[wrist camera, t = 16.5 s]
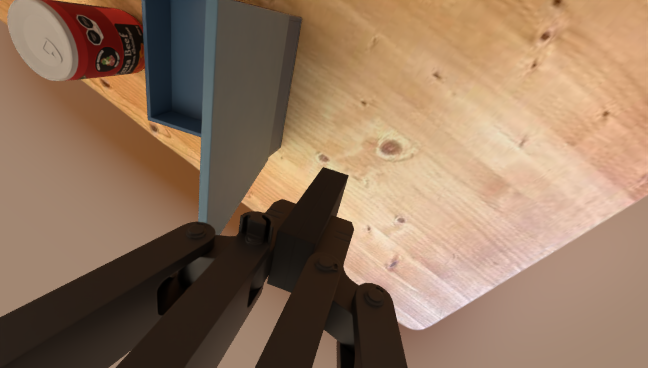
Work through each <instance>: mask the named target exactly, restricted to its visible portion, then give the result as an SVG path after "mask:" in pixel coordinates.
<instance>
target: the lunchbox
mask: <svg viewBox="0 0 648 368" xmlns="http://www.w3.org/2000/svg"><path fill="white" fill-rule="evenodd" d="M141 1H142V20H143V39H144V58H145V77H146V96H147V115H148V120H149V121H153V122H156V123H159V124H162V125H165V126H168V127H171V128H174V129H177V130H180V131H183V132H186V133H189V134H193V135H196V136H199V137H201V130H202V101H203V72H204V43H205V13H206V0H141ZM233 1H235V0H233ZM237 2H239V1H237ZM241 3H243V2H241ZM245 4H247V3H245ZM249 5H251V4H249ZM253 6H255V5H253ZM257 7H259V6H257ZM261 8H262V7H261ZM265 9H266V8H265ZM285 14H286V13H285ZM289 15H290V14H289ZM301 22H302V18H301V17H297V16H294V15H290V16H289V23H288V30H287V36H286V43H285V50H284V56H283V63H282V70H281V76H280V83H279V90H278V96H277V103H276V110H275V116H274V123H273V130H272V136H271V143H270V150H269V156H271V155H272V154H273V153H274V152H276V151H277V150H278V149H279V148H280V147H281V141H282V135H283V129H284V123H285V117H286V111H287V105H288V99H289V93H290V88H291V82H292V76H293V70H294V64H295V58H296V52H297V46H298V40H299V34H300V28H301ZM269 156H268V157H269Z"/></svg>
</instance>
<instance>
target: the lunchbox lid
mask: <svg viewBox="0 0 648 368" xmlns="http://www.w3.org/2000/svg"><path fill="white" fill-rule="evenodd" d="M289 16H290V15H289V14H285V13H282V12H278V11H274V10H270V9H265V8H261V7H257V6H253V5H249V4H245V3H241V2H237V1H233V0H206V13H205V43H204V72H203V101H202V130H201V159H200V189H199V190H200V191H199V219H198V222H204V223H207V224H210V225H211V226H212V227H213V228H214V229H215V232H216V234H215V235H220V234H221V232H222V230H223V229H224V227H225V226H226V224H227V223H228V221H229V220H230V218H231V216H232V215H233V213H234V212H235V210H236V209H237V207H238V206H239V204H240V203H241V201H242V199H243V198H244V196H245V195H246V193H247V192H248V190H249V189H250V187H251V186H252V184H253V182H254V181H255V179H256V178H257V176H258V175H259V173H260V172H261V170H262V168H263V167H264V165H265V164H266V162H267V161H268V156H269V150H270V143H271V136H272V130H273V123H274V116H275V110H276V103H277V96H278V90H279V83H280V76H281V70H282V63H283V56H284V50H285V43H286V36H287V30H288V23H289Z"/></svg>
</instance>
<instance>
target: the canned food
mask: <svg viewBox="0 0 648 368" xmlns="http://www.w3.org/2000/svg"><path fill="white" fill-rule="evenodd" d="M7 18H8V28H9V32H10V35H11V39H12V41H13V43H14V45H15V48H16V49H17V51H18V53H19V54H20V56H21V57H22V58H23V60H24V61H25V62H26V63H27V65H28V66H29V67H30V68H31V69H32V70H34V71H35V72H36V73H37V74H39V75H40V76H42V77H44V78H46V79H48V80H53V81H67V80H78V79H88V78H97V77H106V76H115V75H124V74H133V73H137V72H139V71H141V70H143V69H144V68H145V58H144V39H143V27H142V25H141V24H140V23H139V22H138V21H137V20H136V19H135V18H134V17H133V16H131V15H130V14H128V13H126V12H124V11H122V10H119V9H115V8H108V7H100V6H92V5H85V4H77V3H69V2H62V1H54V0H15V1H14V2H13V3H12V4H11V5H10V8H9V10H8V16H7Z"/></svg>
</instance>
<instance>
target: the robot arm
mask: <svg viewBox="0 0 648 368" xmlns="http://www.w3.org/2000/svg"><path fill="white" fill-rule="evenodd" d="M348 176H349V175H346V174H343V173H340V172H337V171H334V170H330V169H327V168H324V167H323V168H322V169H321V171H320V172H319V173H318V175H317V176H316V178H315V179H314V180H313V182H312V183H311V185H310V186H309V187H308V189H307V190H306V191H305V193H304V194H303V196H302V197H301V198H300V200H299V201H298V202H297V204H295V203H292V202H289V201H287V200H284V199H281V200H279V201H276V202H274V203H273V204H272V205H271V207H270V208H269V209H268V210H267V211H266V212H265V213H262V212H247V213H244V214H243V215H241V217H240V225H239V233H238V234H237V236H221V235H215V234H216V232H215V229H214V228H213V227H212V226H211V225H210V224H207V223H204V222H191V223H187V224H185V225H182V226H180V227H179V228H177V229H175V230H172V231H171V232H168V233H167V234H165V235H163V236H161V237H159V238H157V239H155V240H153V241H151V242H149V243H147V244H145V245H143V246H141V247H139V248H137V249H135V250H133V251H131V252H129V253H127V254H125V255H123V256H121V257H119V258H117V259H115V260H113V261H111V262H109V263H107V264H105V265H103V266H101V267H99V268H97V269H95V270H93V271H91V272H89V273H87V274H85V275H83V276H81V277H79V278H77V279H75V280H73V281H71V282H69V283H67V284H65V285H64V286H61V287H59V288H57V289H56V290H53V291H51V292H49V293H48V294H45V295H44V296H42V297H40V298H38V299H36V300H34V301H32V302H30V303H28V304H26V305H24V306H22V307H20V308H18V309H16V310H14V311H12V312H10V313H8V314H6V315H4V316H2V317H0V368H109V367H110V366H111V365H113V364H114V363H115V362H117V361H118V360H119V359H120V358H122V357H123V356H124V355H126V354H127V353H128V352H129V351H131V352H130V353H129V354H128V355H127V356H126V357H125V358H124V359H123V360H122V361H121V362H120V364H119V365H118V366H117V367H116V368H217V366H218V364H219V363H220V361H221V360H222V358H223V356H224V355H225V353H226V351H227V349H228V348H229V346H230V345H231V343H232V341H233V340H234V338H235V336H236V335H237V333H238V331H239V330H240V328H241V326H242V325H243V323H244V321H245V319H246V318H247V316H248V315H249V313H250V311H251V310H252V308H253V306H254V305H255V303H256V301H257V300H258V298H259V296H260V295H261V292H262V289H263V285H264V282H265V280H266V279H267V277H268V281H267V283H268V284H270V285H273V286H275V287H278V288H281V289H283V290H286V291H288V292H291V295H290V297H289V299H288V301H287V303H286V305H285V307H284V309H283V311H282V313H281V315H280V317H279V319H278V321H277V323H276V326H275V328H274V330H273V332H272V334H271V336H270V338H269V340H268V342H267V344H266V346H265V348H264V350H263V352H262V354H261V356H260V359H259V361H258V362H257V364H256V367H255V368H312V365H313V362H314V359H315V356H316V352H317V349H318V346H319V343H320V340H321V336H322V333H323V330H325V331H327V332H328V333H329V334H330V335H332V336H333V337H334V338H335V339H337V368H407V363H406V359H405V354H404V350H403V346H402V341H401V336H400V332H399V327H398V322H397V318H396V313H395V309H394V304H393V301H392V298H391V296H390V294H389V293H388V292H387V291H386V290H385V289H383V288H382V287H380V286H379V285H376V284H373V283H364V284H361V285H357V284H356V283H355V282H353V281H352V280H351V279H350V278H349V277H348V276H347V275H346V273H345V271H344V267H343V266H344V261H345V258H346V254H347V251H348V248H349V244H350V241H351V238H352V235H353V231H354V228H353V225H352V222H350V221H347V220H344V219H341V218H338V217H336V216H337V213H338V209H339V206H340V203H341V199H342V196H343V193H344V189H345V186H346V183H347V179H348ZM268 275H269V276H268Z"/></svg>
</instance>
